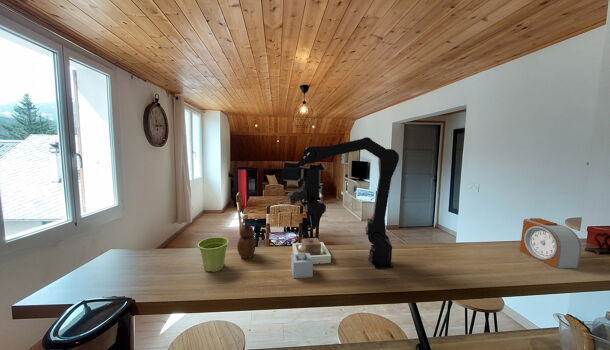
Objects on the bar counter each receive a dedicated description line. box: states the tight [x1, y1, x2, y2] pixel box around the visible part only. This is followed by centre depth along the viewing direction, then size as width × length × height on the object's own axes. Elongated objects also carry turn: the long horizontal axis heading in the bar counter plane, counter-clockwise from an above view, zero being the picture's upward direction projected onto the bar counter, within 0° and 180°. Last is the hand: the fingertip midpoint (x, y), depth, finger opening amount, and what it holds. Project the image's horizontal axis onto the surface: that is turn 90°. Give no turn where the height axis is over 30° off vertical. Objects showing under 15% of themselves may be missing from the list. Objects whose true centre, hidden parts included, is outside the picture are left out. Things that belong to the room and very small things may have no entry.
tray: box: [291, 241, 332, 265], centre depth 88 cm, size 12×12×3 cm
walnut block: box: [301, 237, 321, 256], centre depth 88 cm, size 6×6×5 cm
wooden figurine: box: [236, 217, 257, 259], centre depth 87 cm, size 7×6×15 cm
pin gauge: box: [298, 244, 306, 261], centre depth 76 cm, size 2×2×9 cm
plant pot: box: [197, 236, 230, 273], centre depth 79 cm, size 9×9×9 cm
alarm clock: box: [519, 217, 582, 269], centre depth 89 cm, size 15×8×14 cm, turn 2°
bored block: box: [290, 253, 314, 279], centre depth 77 cm, size 6×6×5 cm
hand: (310, 224), depth 87 cm, fingers open, 9 cm apart
